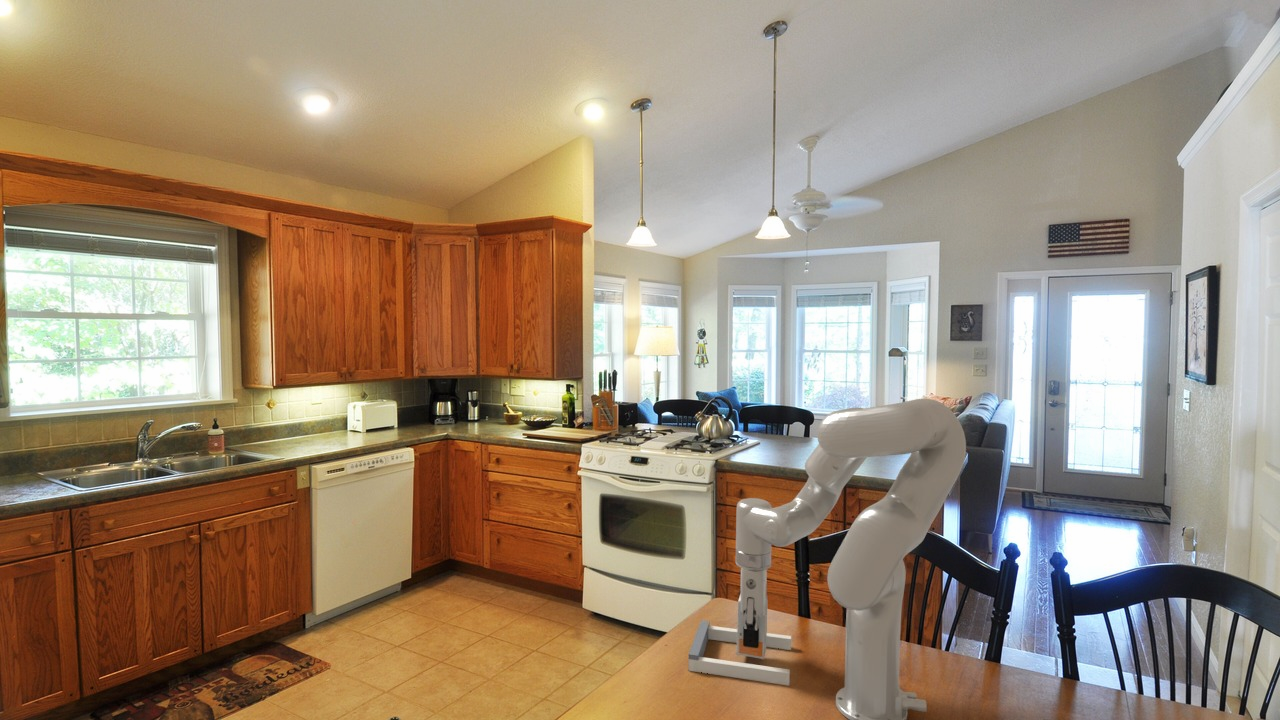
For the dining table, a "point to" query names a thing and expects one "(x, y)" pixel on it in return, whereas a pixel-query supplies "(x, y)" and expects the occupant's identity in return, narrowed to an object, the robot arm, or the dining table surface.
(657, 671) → the dining table surface
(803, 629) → the dining table surface
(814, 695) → the dining table surface
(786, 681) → the guide channel
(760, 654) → the skincare box
